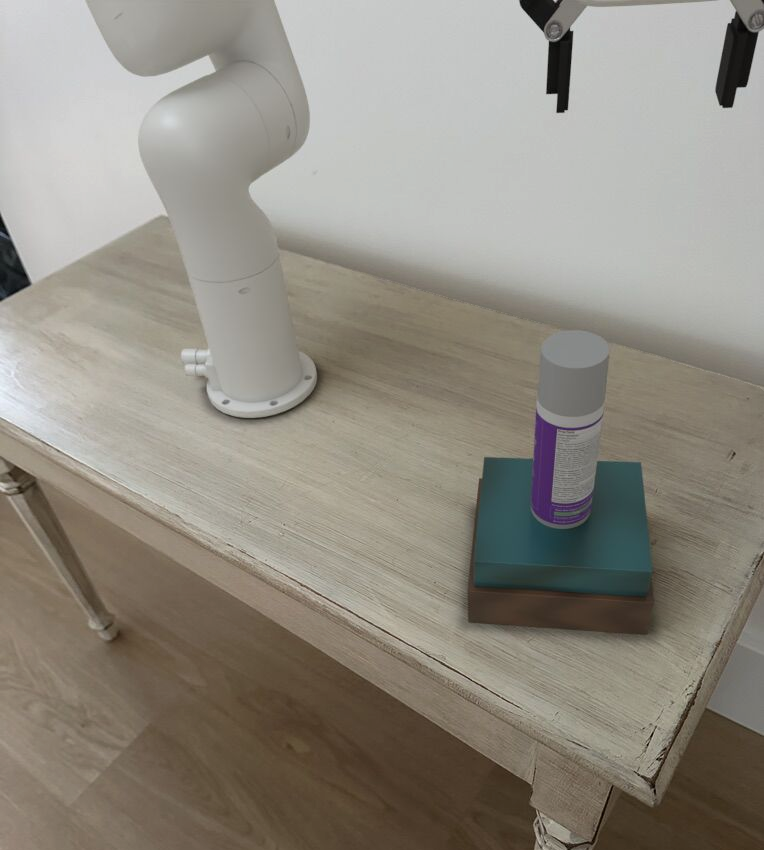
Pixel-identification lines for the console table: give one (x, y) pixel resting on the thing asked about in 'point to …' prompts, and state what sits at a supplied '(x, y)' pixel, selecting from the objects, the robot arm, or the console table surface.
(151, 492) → the console table surface
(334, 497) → the console table surface
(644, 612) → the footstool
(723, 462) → the console table surface
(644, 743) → the console table surface
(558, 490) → the container
